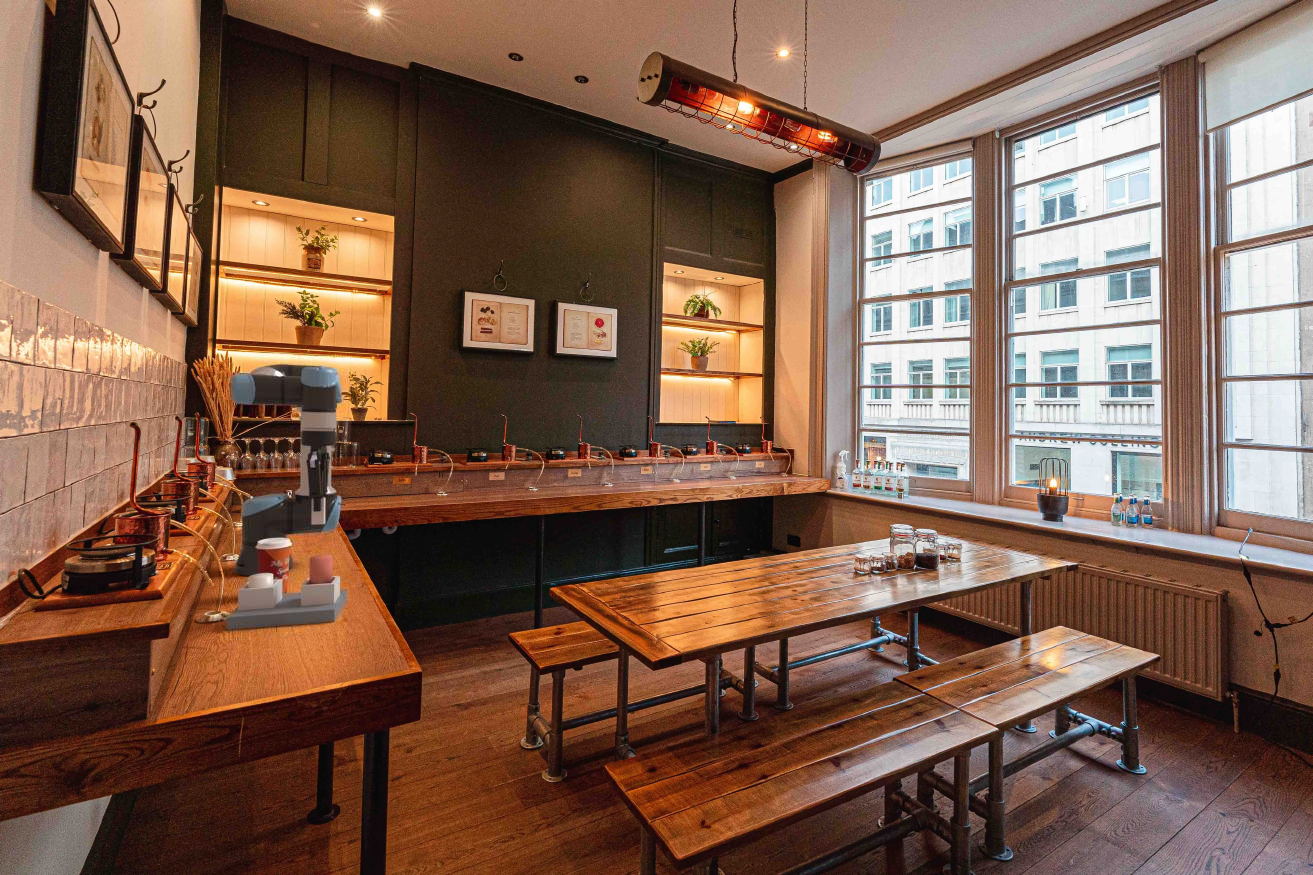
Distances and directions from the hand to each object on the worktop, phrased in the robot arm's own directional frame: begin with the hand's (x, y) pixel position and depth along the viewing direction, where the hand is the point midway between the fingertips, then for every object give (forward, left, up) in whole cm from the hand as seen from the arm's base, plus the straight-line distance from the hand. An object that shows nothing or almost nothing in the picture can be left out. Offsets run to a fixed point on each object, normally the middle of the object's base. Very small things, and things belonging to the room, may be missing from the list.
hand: (318, 523), depth 144 cm
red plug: (0, +1, -16) cm, 16 cm away
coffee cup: (-18, -14, -23) cm, 33 cm away
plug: (0, -12, -20) cm, 23 cm away
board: (0, -6, -23) cm, 23 cm away
